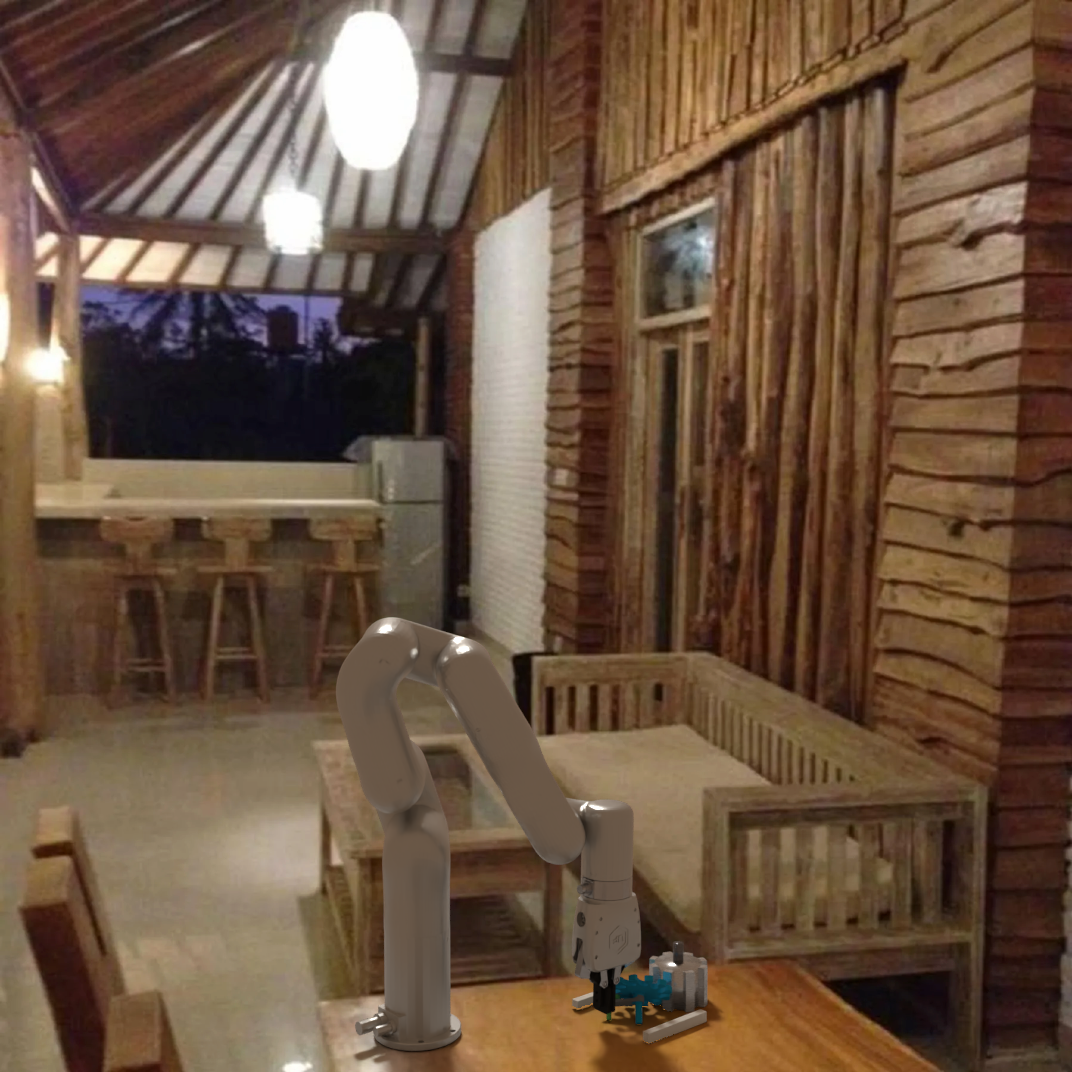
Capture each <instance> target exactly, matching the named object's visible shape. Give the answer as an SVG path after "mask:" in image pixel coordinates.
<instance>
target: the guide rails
mask: <svg viewBox="0 0 1072 1072" xmlns="http://www.w3.org/2000/svg"><path fill="white" fill-rule="evenodd" d="M571 1001H572V1002H571V1003H572V1004H571V1007H572V1006H574V1007H576V1008H581V1007H582V1006H585V1005H590V1004H591V1003H593V991H592V992H589V993H585V994H583V995H581V996H576V997H575V998H574V997H573V998H572V999H571ZM707 1013H708V1012H707V1011H706V1010H704V1009H701V1008H700V1009H698V1010H694V1011H692V1012H688V1013H686V1014H684V1015H682V1016H679V1017H677V1018H674V1019H672V1020H669V1021H666V1022H664V1023H662V1024H658V1025H656V1026H654V1027H651V1028H647V1029H646V1030H642V1041H643V1040H644V1041H645V1042H648V1043H651V1042H653V1043H655V1042H654V1041H656V1040H659V1039H661V1040H663V1039H662V1038H664V1037H666V1038H668V1036H669V1037H671V1036H673V1034H674V1035H676V1034H679V1033H681V1032H683V1031H687V1030H689V1029H691V1028H695V1027H697V1026H699V1025H702V1024H704V1023H706V1022H708V1021H707V1018H708V1017H707V1016H708V1015H707ZM664 1039H665V1038H664ZM659 1041H660V1040H659ZM645 1042H644V1043H645ZM656 1042H657V1041H656ZM651 1044H652V1043H651Z"/></svg>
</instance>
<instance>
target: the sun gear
mask: <svg viewBox="0 0 1072 1072" xmlns="http://www.w3.org/2000/svg"><path fill="white" fill-rule="evenodd" d="M684 945H685V944H684V941H682V940H681V941H680V940H675V941H673V942H672V951H665V952H662V954H661V955H659V956H656V955H651V956H650V958H649V959H648V960H649V961H648V963H649V964H648V965H649V966H648V967H649V969H648V971H649V972H648V975H652V976H653V984H655V983H657V980H658V979H663V980H666V985H670V986H671V987H672V993H671V994H670V999H669V1000H663V999H662V1003H661V1004H660V1005H661V1006H663V1007H662V1010H663V1009H665V1010H667V1011H666V1012H669V1011H671V1013H673V1011H674V1009H677V1010H676V1011H684V1012H685V1013H692V1012H695V1009H696V1008H698V1007H700V1008H705V1007H707V1005H708V979H709V978H708V971H709V970H708V968H709V967H708V960H707V959H706V958H705V957H696V956H694V953H693V952H688V951H687V952H686V951H685V950H684V948H685V947H684ZM652 1004H653V1003H652ZM661 1006H660V1007H661Z"/></svg>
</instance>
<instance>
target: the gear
mask: <svg viewBox="0 0 1072 1072" xmlns="http://www.w3.org/2000/svg"><path fill="white" fill-rule="evenodd" d="M643 978H644V979H643V980H642V979H640V978H639V977H638V974H636V973H634V974H629V975H628V979H626V978H624V977H622V976H620V981H619V983H618V984H616V999H615V1008H616V1007H628V1006H631V1007H633V1006H635V1008H634V1009H635V1011H634V1012H635V1013H634V1014H635V1015H634V1016H635V1019H634V1020H635V1025H637V1024H641V1025H643V1008H642V1006H648V1007H649V1004H650V1003H653V1004H654V1005H655V1006H659V1005H660V1004H661V1003H662V999H663V1000H669V999H670V994H671V993H672V987H671V986H670V985H666V980H663V979H658V980H657V983H655V984H653V976H652V975H649V974H647V975H646V974H645V975H644V977H643ZM649 1002H650V1003H649ZM605 1015H606V1017H605V1018H606V1019H607V1020H611V1021H612V1013H611V1012H610V1013H609V1014H605ZM607 1020H606V1021H607Z"/></svg>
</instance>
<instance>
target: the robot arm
mask: <svg viewBox="0 0 1072 1072" xmlns="http://www.w3.org/2000/svg"><path fill="white" fill-rule="evenodd" d="M336 678H337V680H336V686H335V698H336V704H337V711H338V714H339V717H340V720H341V723H342V726H343V730H344V733H345V737H346V740H347V744H348V748H349V750H350V753H351V756H352V759H353V762H354V764H355V768H356V771H357V775H358V777H359V781H360V786H361V789H362V792H363V795H364V797H365V799H366V800H367V801H368V803H369V804H370V805H371V806H372V807H373V808H374V809H375V810H376V812H377V816H378V818H379V821H380V824H381V827H382V830H383V833H384V839H383V847H382V857H381V860H382V862H381V865H382V867H381V869H382V891H383V892H382V893H383V896H382V897H383V898H382V899H383V932H384V933H383V939H384V941H383V945H384V946H383V947H384V949H383V954H384V956H383V959H384V960H383V962H384V964H383V966H384V968H383V969H384V972H383V974H384V977H383V978H384V1003H383V1004H378V1006H377V1008H378V1009H377V1012H376V1013H374V1014H373V1017H369V1018H365V1019H361V1020H358V1021H356V1022H355V1025H354V1028H355V1032H356V1034H357V1035H358V1036H363V1035H365V1034H366V1035H367V1034H369V1033H373V1036H374V1038H375V1040H376V1041H377V1042H379V1044H381V1045H383V1046H385V1047H387V1048H390V1049H394V1050H398V1051H405V1052H408V1051H409V1052H421V1051H422V1052H424V1051H428V1050H435V1049H438V1048H439V1049H441V1048H442V1047H445V1046H448V1045H450V1044H451V1043H453V1042H455V1041H456V1040H457V1039H458V1038H459V1037H460V1036H461V1033H462V1022H461V1020H460V1019H459V1017H458V1016H456V1015H454V1014H453V1013H451V921H450V920H451V916H450V915H451V910H450V909H451V906H450V905H451V898H450V896H451V895H450V893H451V888H450V887H451V841H450V829H449V824H448V820H447V817H446V814H445V812H444V808H443V806H442V802H441V799H440V797H439V794H438V791H437V788H436V785H435V781H434V779H433V776H432V773H431V770H430V767H429V764H428V761H427V759H426V757H425V753H424V752H423V751H422V749H421V748H420V746H419V745H418V744H417V743H416V742H415V741H413V740H412V739H411V737H410V736H409V732H408V730H407V727H406V723H405V719H404V716H403V713H402V709H401V708H400V704H399V702H398V698H397V697H398V696H397V695H398V694H397V690H398V687H399V685H400V683H401V682H402V681H403V680H404V679H407V680H411V681H414V682H418V683H421V684H425V685H429V686H432V687H436V688H439V691H440V692H441V694H442V696H443V698H444V699H445V701H446V703H447V704H448V706H449V708H450V710H451V711H452V713H453V714H454V716H455V717H456V719H457V721H458V722H459V724H460V726H461V727H462V729H463V730H464V732H465V734H466V736H467V737H468V739H469V740H470V741H469V742H470V743H471V744H472V747H473V748H474V749H475V751H476V753H477V754H478V756H479V758H480V760H481V762H482V763H483V765H484V767H485V769H486V771H487V772H488V775H489V776H490V778H491V779H492V781H493V782H494V783H495V786H496V787H497V788H498V790H499V791H500V792H501V795H502V797H503V798H504V800H505V802H506V804H507V805H508V807H509V809H510V811H511V812H512V814H513V815H514V817H515V818H514V819H516V821H517V822H518V823H517V824H518V825H519V826H520V828H521V830H522V831H523V833H524V834H525V836H526V838H527V840H528V841H529V843H530V845H531V846H532V848H533V850H534V851H535V853H536V854H537V855H538V856H539V857H540V858H541V859H542V860H543V861H545V862H546V863H550V864H552V865H557V866H558V865H559V866H560V865H567V864H569V863H571V862H573V861H574V860H576V859H577V858H578V857H579V856H581V857H580V861H581V862H580V866H581V867H580V884H578V885H577V887H576V891H577V894H578V895H580V896H579V897H578V898H577V902H576V907H575V912H574V919H573V927H572V940H571V941H572V942H571V956H572V962H573V963H574V964H575V969H574V975H575V976H576V977H578V978H580V979H583V980H585V979H586V980H589V982H590V983H591V984H592V985H593V987H592V989H593V990H592V992H593V1006H592V1008H593V1009H594V1010H597V1011H598V1012H600V1013H603V1014H604V1015H606V1014H609V1013H610V1012H611V1014H612V1013H614V1012H616V1007H615V999H616V984H618V983H619V981H620V977H621V975H622V973H623V971H624V969H625V968H628V967H629V966H631V965H632V964H634V962H635V961H637V960H638V959H639V958H640V957H641V952H642V951H641V950H642V931H641V927H642V926H641V917H640V909H639V903H638V902H639V901H638V898H637V895H636V893H635V892H633V877H634V875H633V872H634V871H633V870H634V869H633V868H634V864H633V863H634V825H635V824H634V822H635V817H634V811H633V808H632V806H631V805H629V803H627V802H625V801H621V800H618V799H617V800H616V799H608V798H607V799H596V800H583V799H577V798H576V799H575V798H571V797H570V798H569V797H566V796H565V794H564V792H563V791H562V789H561V787H560V786H559V783H558V782H557V780H556V779H555V777H554V775H553V773H552V771H551V769H550V767H549V765H548V763H547V760H546V758H545V756H544V754H543V751H542V749H541V746H540V743H539V741H538V739H537V735H536V734H535V733H534V730H533V728H532V727H531V725H530V723H529V721H528V720H527V718H526V717H525V715H524V713H523V712H522V710H521V709H520V707H519V705H518V703H517V702H516V700H515V698H514V697H513V695H512V693H511V691H510V690H509V688H508V686H507V685H506V683H505V681H504V680H503V678H502V676H501V674H500V673H499V671H498V669H497V668H496V666H495V664H494V663H493V661H492V657H491V655H490V653H489V651H488V650H487V648H486V647H485V646H484V645H483V644H481V643H479V642H478V641H476V640H474V639H471V638H468V637H466V636H465V637H464V636H461V635H457V634H454V633H450V632H446V631H444V630H441V629H437V628H433V627H431V626H428V625H424V624H421V623H418V622H414V621H411V620H407V619H405V618H402V617H392V616H391V617H384V618H380V619H378V620H376V621H375V622H373V623H371V625H370V626H368V627H367V629H366V630H365V632H364V633H363V635H362V638H360V640H358V642H357V643H356V644H355V646H353V648H352V649H351V650H350V652H349V654H348V655H347V656H346V658H345V659H344V661H343V662H342V664H341V666H340V668H339V671H338V675H337V677H336Z"/></svg>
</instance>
